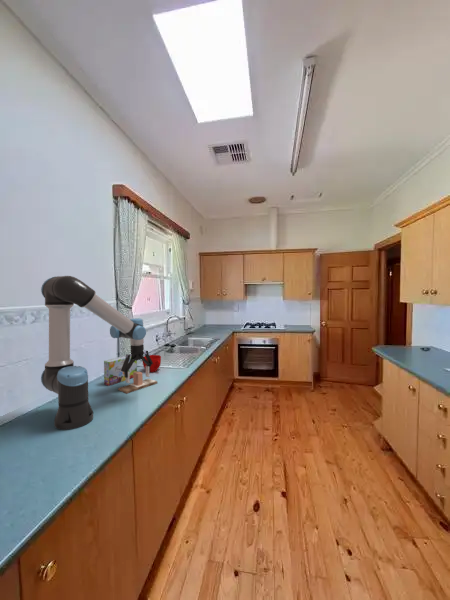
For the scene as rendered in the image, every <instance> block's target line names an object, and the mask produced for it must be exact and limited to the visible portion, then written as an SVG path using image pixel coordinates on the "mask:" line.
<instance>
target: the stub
mask: <svg viewBox="0 0 450 600" xmlns="http://www.w3.org/2000/svg"><path fill="white" fill-rule="evenodd" d="M132 379H133V383H128V385H131V386H134V387H137V388H138V387H141V386H144V385H147V384H145V383H143V380H144V378H143V372H141V371H138V370H137V372H133V378H132Z"/></svg>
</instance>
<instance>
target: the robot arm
mask: <svg viewBox="0 0 450 600" xmlns="http://www.w3.org/2000/svg"><path fill="white" fill-rule="evenodd" d="M40 292H41V294H42V297H43V298H44V306H46V309H48V361H46V362H45V363H44V369H43V371H42V373H41V376H40V382H41V384H42V386H43V387H44V388H45V389H46V390H48V391H50V392H53V393H55V394H57V397H58V398H57V399H58V400H57V402H58V408H57V410H56V414H55V417H54V420H53V421H54V422H53V424H54V428H55V429H57V430H63V431H64V430H72V429H77V428H81V427H83V426H85V425H87V424H89V423H90V422H92V420H93V419H94V412H93V408H92V406H91V403H90V401H89V375H88V370H87V368H85V367H84V366H79V365H74V360H73V359H71V308H72V307H74V306H75V305H77V306H78V307H80V308H85V309H87V310H88V311H90V312H91V313H93V314H94V315H96V316H97V317H99V318H100V319H102V321H105V322H106V323H108V324H109V325H111V326H110V328H109V334H110V337H111V338H113V339H119V338H123V339H130V343H129V344H130V353H129V354H128V353H127V354H125V356H126V359H125V361H124V364H123V366H122V369H121V371H122V372H124V376H125V378H126V380H125V383H127V384H131V382H130V380H131V379H130V378H129V372H128V371H129V369H130V367H131V366H132V364H133V363H134V362H135V360H136V361H137V362H138V361H139V360H140V361H142V363H143V362H144V363H145V364H146V365H147V366H146V369H145V377H148V378H150V372H149V371H150V366H151V364H153V362H152V360H151V358H150V356H149V355H150V354H149V351H148V350H147V349H145V348H144V347H145V346H144V345H145V344H144V342H145V341H144V339H145V337H146V335H147V329H146V328H145V326H144V320H143V319H142V318H140V317H139V318H128V317H127V316H126V315H125V314H123V313H121V312H120V311H119V310H118V309H116V308H115V307H114V306H112V305H111V304H109V303H108V302H107V301H105V300H104V299H102V297H100V296H99V295H97V294H96V291H95V290H94V289H93V288H92V287H90V286H89V285H88V284H86V283H85V282H83V281H82V280H80V279H78V278H77V277H75V276H71V275H60V276H59V275H58V276H52V277H49V278H47V279H45V281H43V283H42V285H41V287H40ZM144 356H146V358H147V360H148V361H147V360H146V359H145V358H144ZM130 358H131V359H130ZM129 360H130V361H129ZM128 362H129V363H128Z"/></svg>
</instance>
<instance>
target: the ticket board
mask: <svg viewBox="0 0 450 600" xmlns="http://www.w3.org/2000/svg"><path fill="white" fill-rule="evenodd" d="M143 383H145V384H147V385H144V386H141V387H138V388H137V387H134V386H131V385H129V384H127V385H124V386H121V387H119V388H117V390H118V391H119V392H121V393H124V394H126V395H127V394H130V393H133V392H136V391H140V390H141V389H145V388H147V387H151V386H154V385H156V384H158V381H157V380H154V379H150V378H146V379H143Z"/></svg>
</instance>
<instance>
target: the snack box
mask: <svg viewBox="0 0 450 600" xmlns="http://www.w3.org/2000/svg"><path fill="white" fill-rule="evenodd" d="M125 359H126V355H123V356H122V355H121V356H118V357H115V358H110V359H107V360H103V384H104V385H105V386H107V387H110V386H113V385H116V384H119V383H122V382H126V378H125V376H124V372H122V371H121V369H122V366H123V364H124V361H125ZM130 359H131V358H130ZM129 361H130V360H129ZM128 363H129V362H128ZM137 371H138V360H137V361H136V360H135V362H134V363H133V364H132V366H131V367H130V369H129V371H128V372H129V378H130V380H131V379H133V372H137Z"/></svg>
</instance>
